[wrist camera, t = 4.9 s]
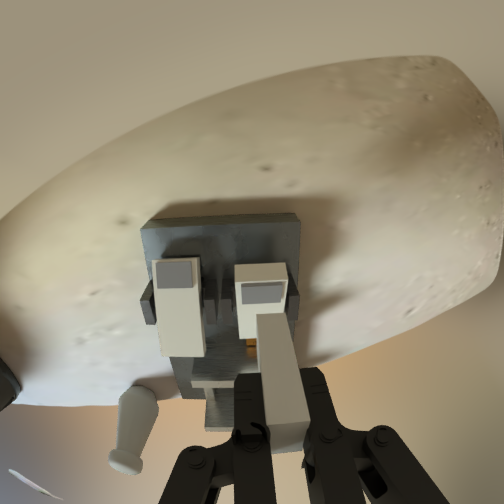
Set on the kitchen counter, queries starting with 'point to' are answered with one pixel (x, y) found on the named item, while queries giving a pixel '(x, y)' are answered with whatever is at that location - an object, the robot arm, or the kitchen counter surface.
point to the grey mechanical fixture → (222, 295)
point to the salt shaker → (133, 428)
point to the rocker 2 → (259, 293)
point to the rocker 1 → (179, 306)
